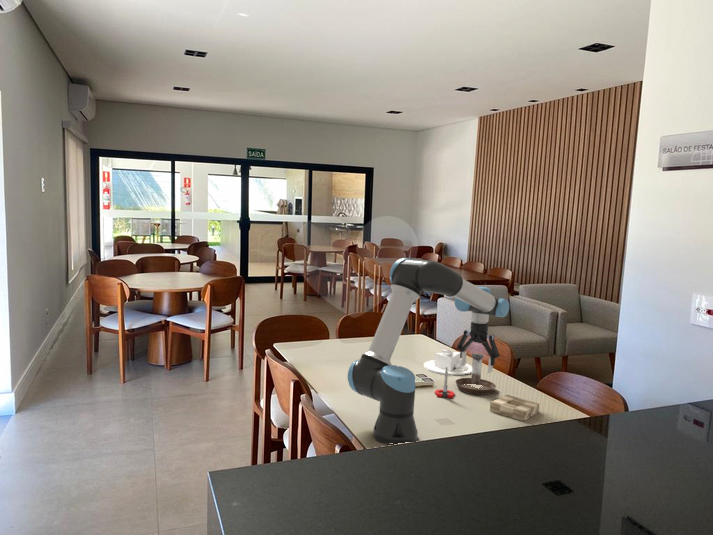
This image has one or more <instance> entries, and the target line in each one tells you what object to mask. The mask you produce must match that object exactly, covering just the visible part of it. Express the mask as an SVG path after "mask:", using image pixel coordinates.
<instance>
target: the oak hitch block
mask: <svg viewBox="0 0 713 535" xmlns="http://www.w3.org/2000/svg"><path fill="white" fill-rule="evenodd" d="M539 409H540V403H537V402H535V401H531V400H528V399H523V398H520V397H516V396H512V395H510V394H505V395H503V396H501V397H499V398H497V399H496V398H495V399H494V400H492V401H490V404H489V412H493V413H495V414H498V413H499V415H501V414H503V416H505V415H507V416H506V417H508V416H509V418H511V417H513V418H512V419H515V418H516V419H515V420H518V419H520V420H519V421H521V420H524V421H526V420H527V419H526V418H528V417H529V418H531V417H532V416H531V415H533V414H535V413H536V414H538V413H539V412H540V410H539ZM538 411H539V412H538ZM537 412H538V413H537ZM536 414H535V415H536ZM530 416H531V417H530ZM533 416H534V415H533ZM529 418H528V419H529ZM525 419H526V420H525Z"/></svg>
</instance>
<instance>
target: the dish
mask: <svg viewBox="0 0 713 535" xmlns="http://www.w3.org/2000/svg"><path fill="white" fill-rule="evenodd" d="M439 349H440V350H441V352H435V353H434V359H432V360H427V361H425V362H424V363H423V367H424V369H425V370H426V371H428V372H430V373H434V374H437V375H443V376H445V371H446V367H447V368H448V369H447V372H448V376H451V375H462V376H466V375H465V374H469V375H471V374H472V365H470V364H469V363H466V365H465V366H461V359H462V358H460V351H456V352H455V351H451V350H449V349H445V347H443V346H442V345H439ZM467 368H468V370H467ZM464 370H467V371H464ZM470 373H471V374H470Z"/></svg>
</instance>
